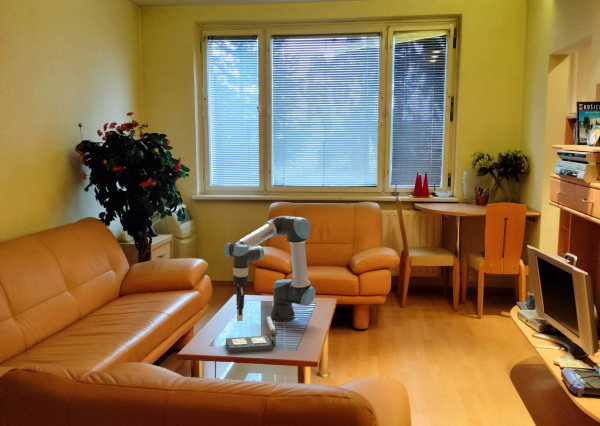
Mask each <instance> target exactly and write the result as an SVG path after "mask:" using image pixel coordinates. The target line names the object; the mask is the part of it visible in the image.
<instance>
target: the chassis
mask: <svg viewBox="0 0 600 426" xmlns="http://www.w3.org/2000/svg"><path fill="white" fill-rule="evenodd" d="M270 336H271V335H270ZM225 345H226V348H227V351H228V352H229V354H241V353H243V354H244V353H256V352H271V351H272V350H274V347H276V345H277V335H276V336H271V339H270V338H269V336H268V335H256V336H255V335H254V336H242V337H241V336H240V337H239V336H238V337H226V338H225Z"/></svg>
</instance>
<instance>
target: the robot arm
mask: <svg viewBox="0 0 600 426" xmlns="http://www.w3.org/2000/svg"><path fill="white" fill-rule="evenodd" d="M310 235H311V224H310V221H309V219H307V218H305V217H301V216H293V215H292V216H290V215H279V216H276V217H273V218H271V219H269V220H268V221H265V222H264V223H263V225H262V226H261V227H259V228H256V229H255V230H254V231H251V232H250V233H249V234H247V235H246V236H244V237H243V238H240V239H238V240H237V241H235V242H226V243H225V244H224V246H223V254H224V256H226V257H229V258H233V260H232V261H233V265H232V269H231V271H232V275H233V276H232V283H233V284H235V285H236V286H235V290H236V291H235V292H236V321H237V322H243V320H244V319H243V318H244V308H245V307H244V306H245V294H246V290H245V289H246V287H245V286H244V285H246V284H248V283H249V276H248V275H249V263H252V262H256V261H259V260H262V259H263V258H264V257H265V250H264V247H262V246H261V245H259V244H261V243H262V242H263V243H264V242H265V241H266V240H268V239H269V238H274V237H277V236H285V237H286V241H287V242H288V243H289V247H290V258H291V268H292V269H291V270H292V279H288V278H287V279H286V278H285V279H278V280H276V281H274V282H273V296H272V297H273V298H272V299H273V302H272V303H273V305H272V308H271V310H270V312H269V316H270V317H271V320H274V321H284V320H287V321H290V320H289V319H292V318H293V317H294V316H296V314H295V311H294V307H293V304H295V305H300V306H305V307H307V306H310V305H311V304H312V303H313V302H314V300H315V297H316V289H315V287H314V286H312V285H311V280H310V279H308V267H307V266H308V265H307V255H306V254H307V253H306V241H307V240H308V238H309V237H310ZM292 320H293V319H292Z"/></svg>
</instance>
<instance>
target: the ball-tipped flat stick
mask: <svg viewBox="0 0 600 426" xmlns="http://www.w3.org/2000/svg"><path fill="white" fill-rule="evenodd" d="M266 322H267V325H268V328H269V330H270V336H276V337H277V335H278V329H277V328H275V325H274V322H273V319H272V318H271V317H270V315H269V316H266Z"/></svg>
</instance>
